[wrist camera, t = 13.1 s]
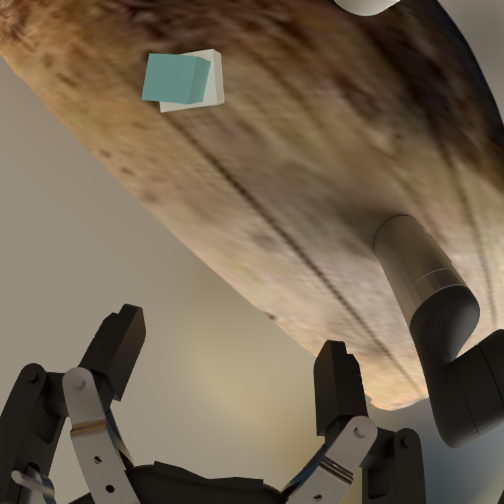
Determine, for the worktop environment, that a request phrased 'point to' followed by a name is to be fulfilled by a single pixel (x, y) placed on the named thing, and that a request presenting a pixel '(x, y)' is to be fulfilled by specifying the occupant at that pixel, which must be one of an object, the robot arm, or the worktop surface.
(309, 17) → the worktop surface
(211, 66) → the pedestal block
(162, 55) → the teal cube
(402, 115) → the worktop surface
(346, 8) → the mug
